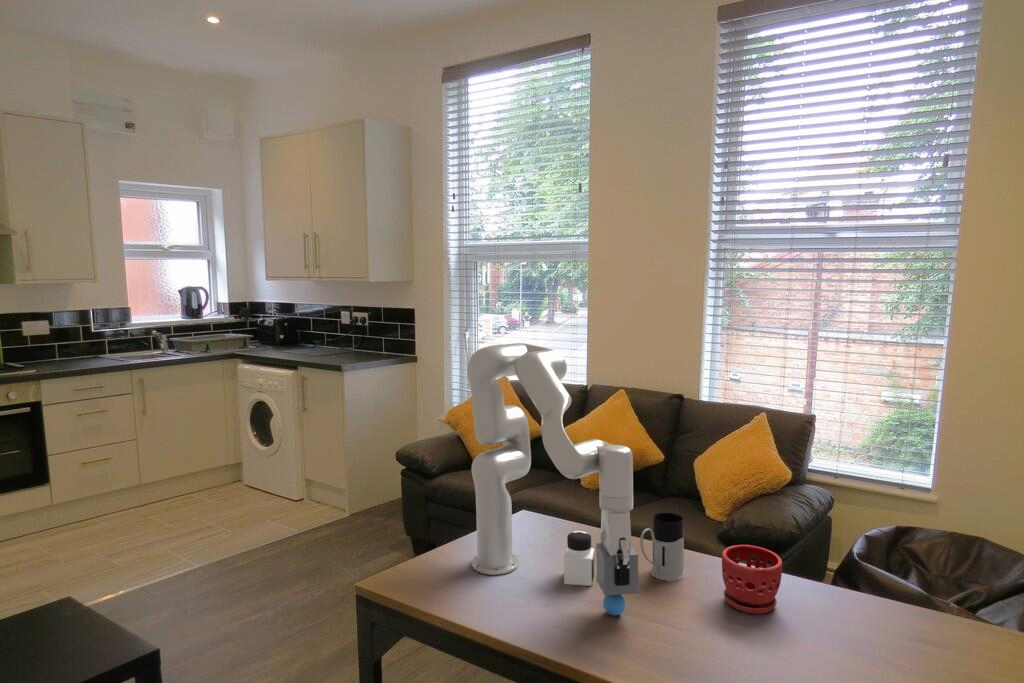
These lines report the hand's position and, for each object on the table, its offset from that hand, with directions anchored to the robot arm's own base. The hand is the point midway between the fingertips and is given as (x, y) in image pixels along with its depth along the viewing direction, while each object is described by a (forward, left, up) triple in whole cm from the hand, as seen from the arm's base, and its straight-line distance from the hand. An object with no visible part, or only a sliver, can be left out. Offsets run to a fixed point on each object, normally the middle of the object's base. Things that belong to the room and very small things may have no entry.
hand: (617, 576), depth 145 cm
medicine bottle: (-18, -5, -9) cm, 21 cm away
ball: (0, -1, -6) cm, 6 cm away
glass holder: (-17, +16, -9) cm, 25 cm away
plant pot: (0, +32, -9) cm, 33 cm away
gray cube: (0, 0, -2) cm, 2 cm away
